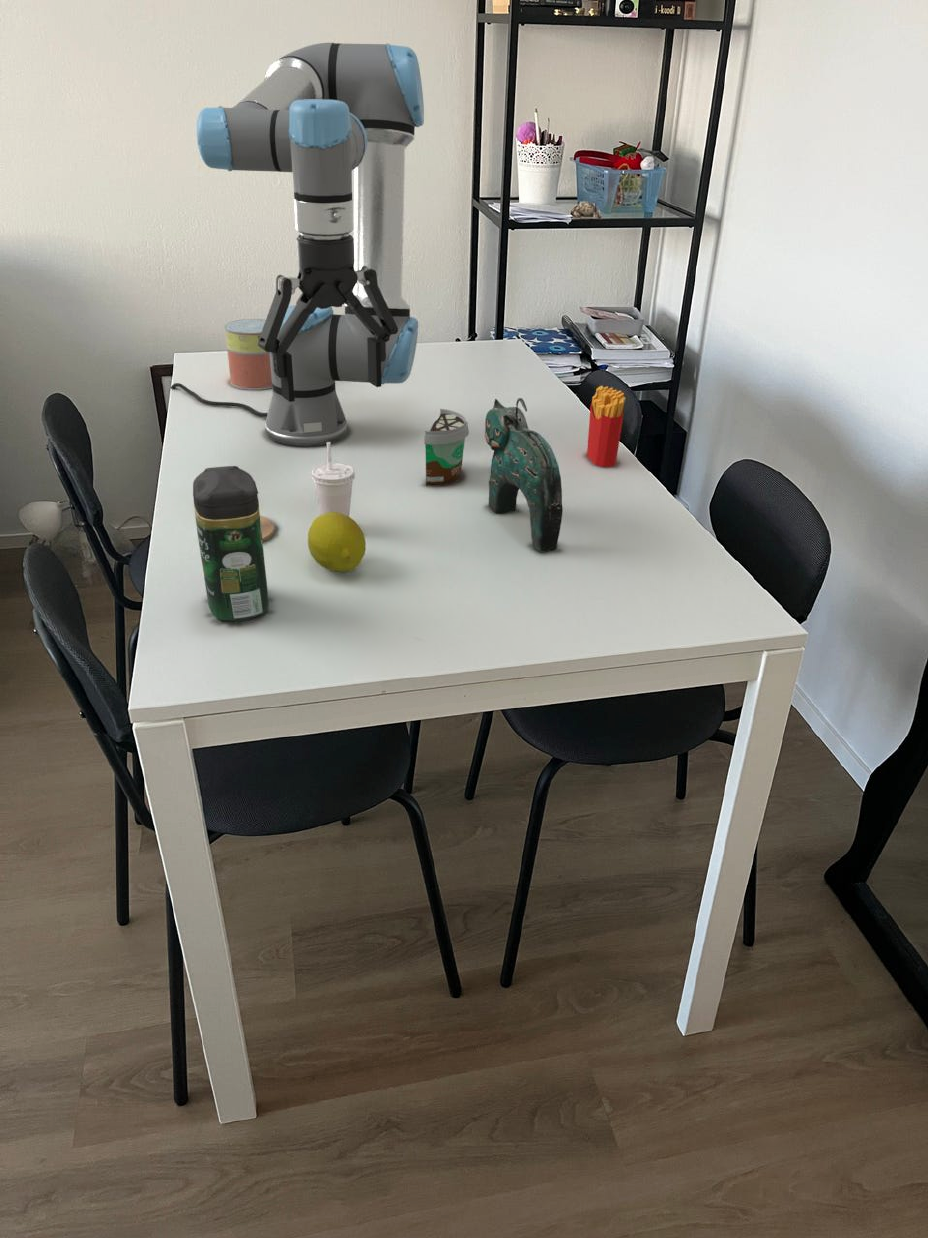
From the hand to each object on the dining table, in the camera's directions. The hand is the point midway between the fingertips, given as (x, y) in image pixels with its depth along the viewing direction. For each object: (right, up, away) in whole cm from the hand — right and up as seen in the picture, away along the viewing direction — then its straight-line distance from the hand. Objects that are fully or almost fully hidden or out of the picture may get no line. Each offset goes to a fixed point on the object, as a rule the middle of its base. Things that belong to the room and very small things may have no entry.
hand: (332, 391), depth 135 cm
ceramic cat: (+28, -18, +13) cm, 36 cm away
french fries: (+44, -4, +37) cm, 58 cm away
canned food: (-26, +19, +70) cm, 77 cm away
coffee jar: (-11, -31, -10) cm, 34 cm away
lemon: (+1, -25, 0) cm, 25 cm away
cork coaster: (-15, -19, +8) cm, 26 cm away
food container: (+16, -8, +29) cm, 34 cm away
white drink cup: (-1, -19, +10) cm, 22 cm away
